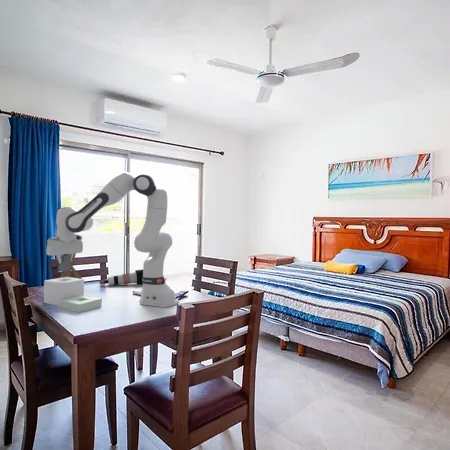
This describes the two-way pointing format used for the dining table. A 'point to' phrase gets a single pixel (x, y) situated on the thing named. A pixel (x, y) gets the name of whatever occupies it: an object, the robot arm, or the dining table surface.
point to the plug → (65, 262)
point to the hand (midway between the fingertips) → (65, 262)
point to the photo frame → (67, 272)
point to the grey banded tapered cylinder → (125, 278)
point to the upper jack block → (62, 289)
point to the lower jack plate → (80, 303)
